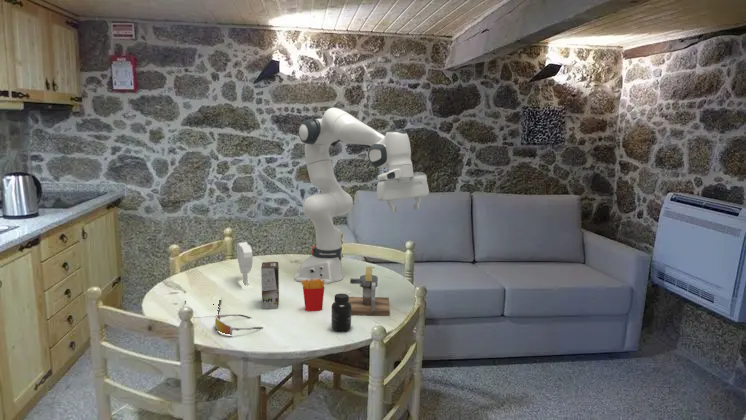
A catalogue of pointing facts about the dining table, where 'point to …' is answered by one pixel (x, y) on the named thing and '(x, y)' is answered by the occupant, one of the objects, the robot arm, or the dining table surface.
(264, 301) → the coffee box
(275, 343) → the dining table surface
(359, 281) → the coupling
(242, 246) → the heart sculpture
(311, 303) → the french fries
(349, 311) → the supplement bottle
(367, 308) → the post stand
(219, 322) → the sunglasses
